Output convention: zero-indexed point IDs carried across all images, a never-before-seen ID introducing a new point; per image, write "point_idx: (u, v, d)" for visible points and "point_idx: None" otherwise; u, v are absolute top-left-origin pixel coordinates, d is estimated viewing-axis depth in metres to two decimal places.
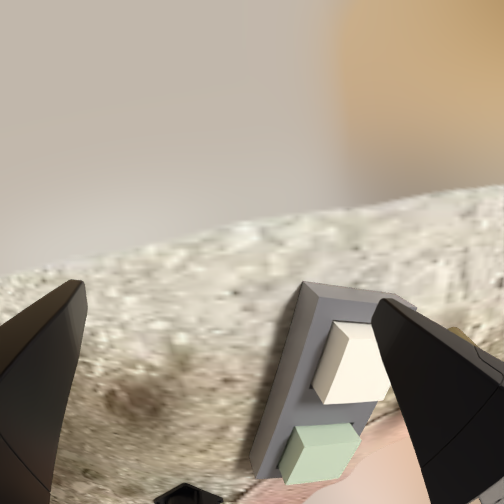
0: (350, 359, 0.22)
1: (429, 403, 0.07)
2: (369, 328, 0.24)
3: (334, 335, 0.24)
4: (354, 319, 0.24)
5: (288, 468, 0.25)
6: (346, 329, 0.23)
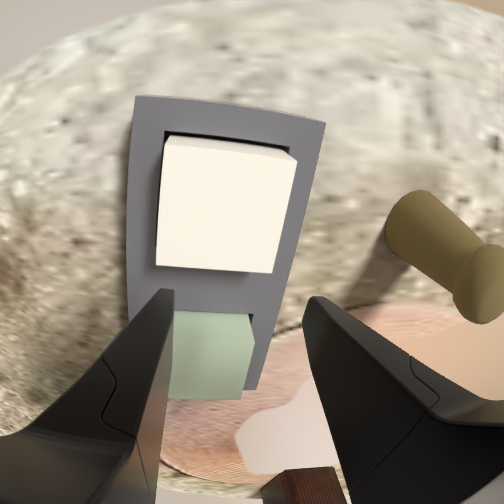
0: (177, 183, 0.14)
1: (353, 420, 0.07)
2: (228, 144, 0.15)
3: None
4: (202, 130, 0.15)
5: None
6: (178, 140, 0.15)
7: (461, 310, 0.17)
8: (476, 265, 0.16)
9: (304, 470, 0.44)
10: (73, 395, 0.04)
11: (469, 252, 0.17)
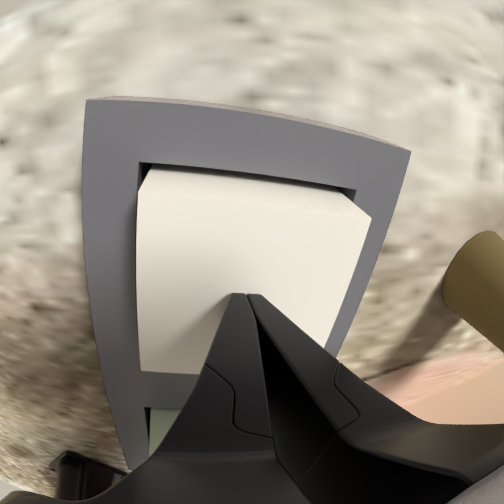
0: (165, 259, 0.08)
1: (277, 429, 0.06)
2: (252, 181, 0.09)
3: None
4: (208, 161, 0.09)
5: None
6: (166, 175, 0.08)
7: None
8: None
9: None
10: (196, 407, 0.04)
11: None
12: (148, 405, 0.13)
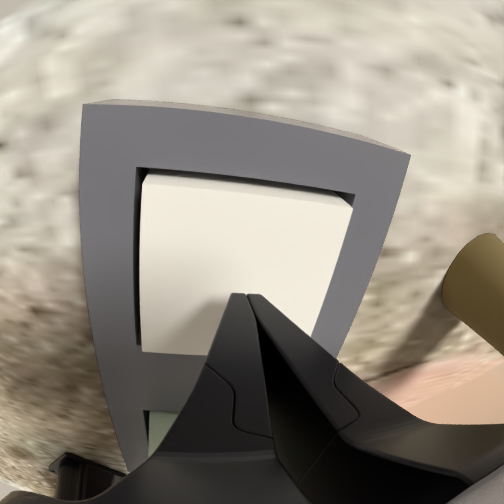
0: (165, 244, 0.09)
1: (277, 429, 0.06)
2: None
3: None
4: (206, 166, 0.09)
5: None
6: (167, 170, 0.09)
7: None
8: None
9: None
10: (196, 407, 0.04)
11: None
12: (147, 408, 0.13)
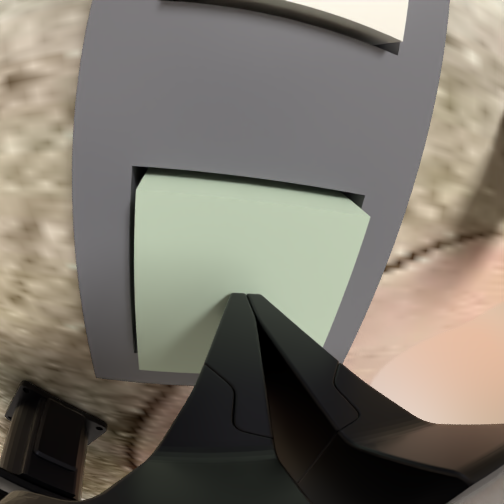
0: None
1: (277, 429, 0.06)
2: None
3: None
4: None
5: None
6: None
7: None
8: None
9: None
10: (196, 407, 0.04)
11: None
12: (141, 161, 0.08)
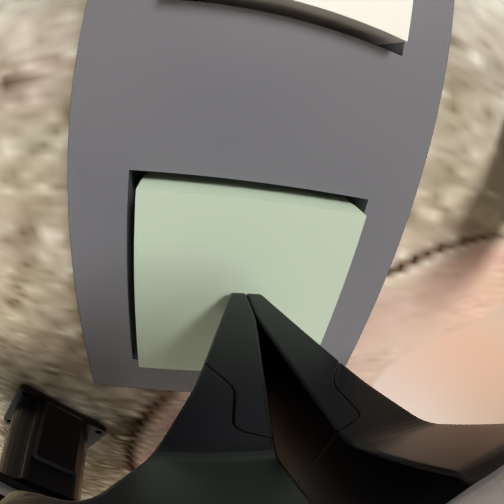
0: None
1: (277, 429, 0.06)
2: None
3: None
4: None
5: None
6: None
7: None
8: None
9: None
10: (196, 407, 0.04)
11: None
12: (138, 164, 0.07)
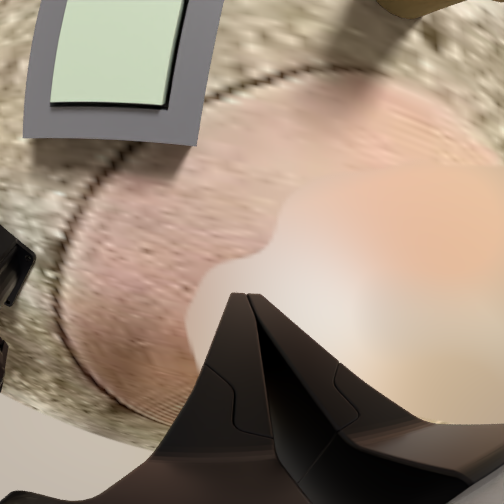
0: None
1: (277, 429, 0.06)
2: None
3: None
4: None
5: None
6: None
7: None
8: None
9: None
10: (196, 407, 0.04)
11: None
12: None
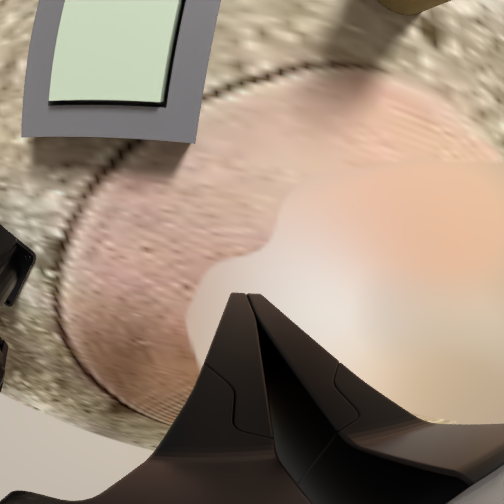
0: None
1: (277, 429, 0.06)
2: None
3: None
4: None
5: None
6: None
7: None
8: None
9: None
10: (196, 407, 0.04)
11: None
12: None
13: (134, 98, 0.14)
